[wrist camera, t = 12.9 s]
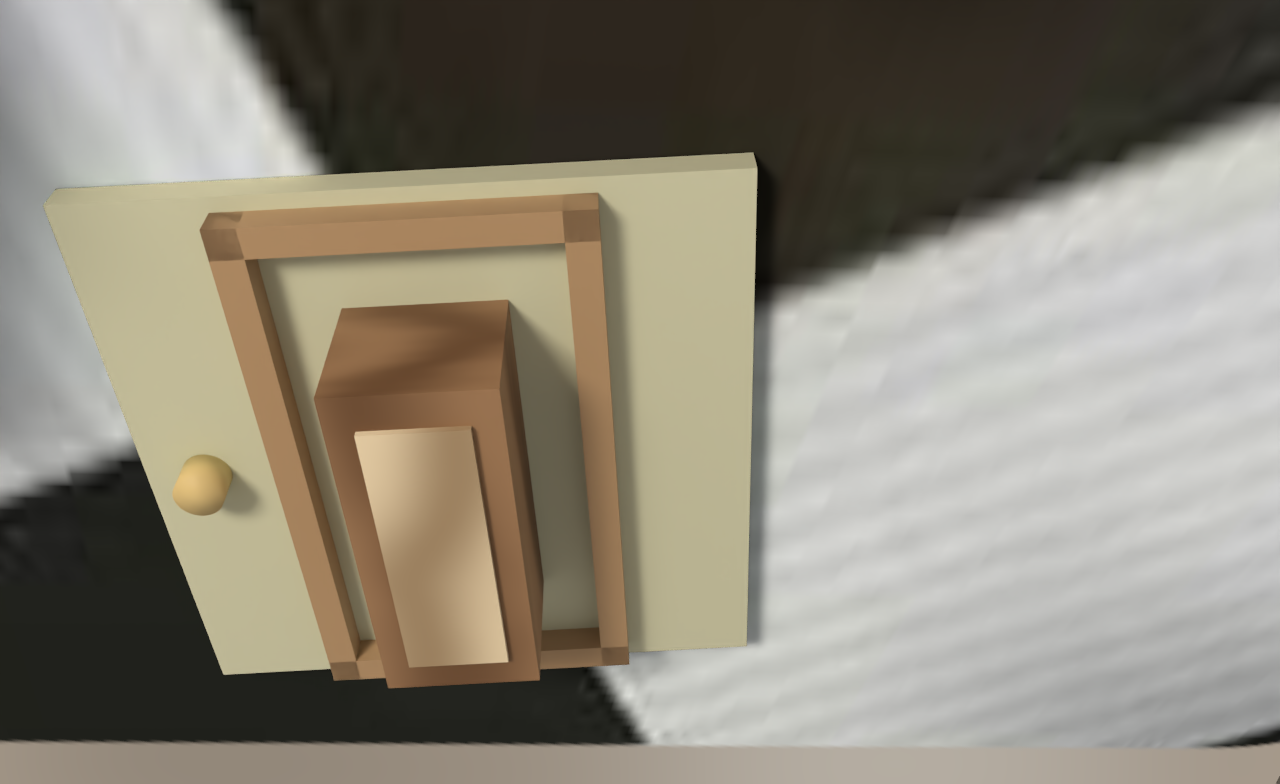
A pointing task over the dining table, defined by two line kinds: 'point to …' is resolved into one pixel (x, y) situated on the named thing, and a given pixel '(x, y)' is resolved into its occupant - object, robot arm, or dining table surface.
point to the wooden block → (436, 489)
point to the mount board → (546, 364)
